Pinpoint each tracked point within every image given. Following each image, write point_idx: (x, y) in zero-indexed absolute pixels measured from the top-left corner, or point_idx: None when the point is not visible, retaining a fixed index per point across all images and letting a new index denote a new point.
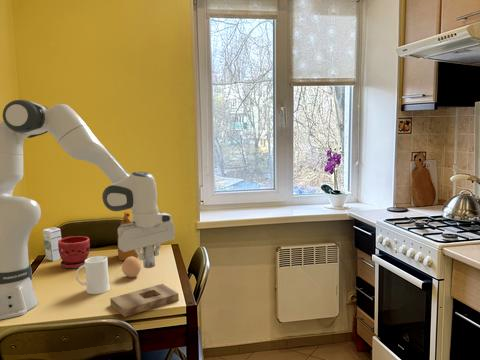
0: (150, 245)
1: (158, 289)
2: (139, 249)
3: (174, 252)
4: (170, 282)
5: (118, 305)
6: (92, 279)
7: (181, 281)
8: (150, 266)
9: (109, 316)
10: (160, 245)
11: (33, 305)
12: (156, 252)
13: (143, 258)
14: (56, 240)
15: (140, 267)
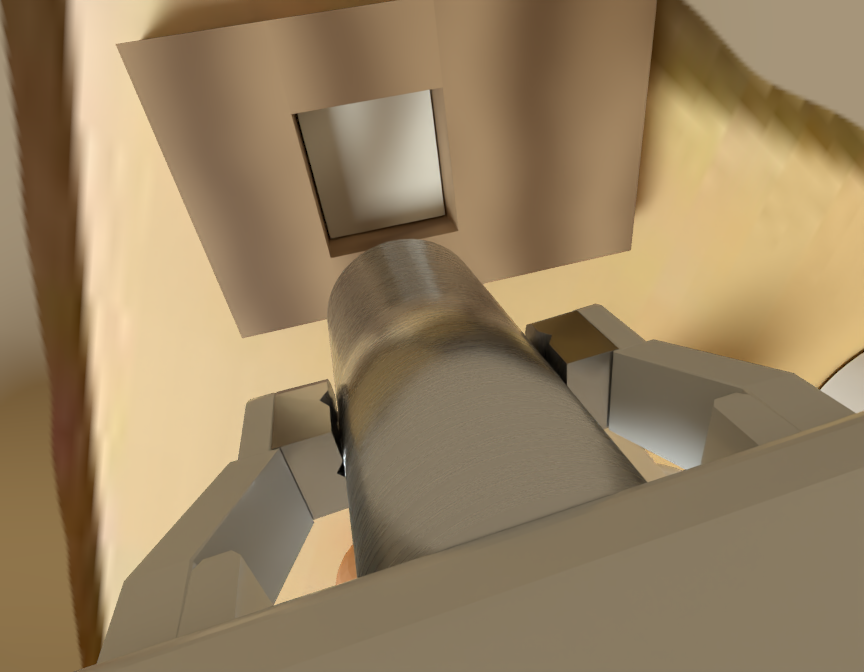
0: (522, 510)
1: (295, 241)
2: (783, 413)
3: None
4: (172, 412)
5: (645, 94)
6: (655, 466)
7: (84, 403)
8: (416, 245)
9: (686, 55)
10: (146, 581)
11: (849, 371)
12: (293, 427)
13: (560, 318)
14: None
15: (340, 578)
